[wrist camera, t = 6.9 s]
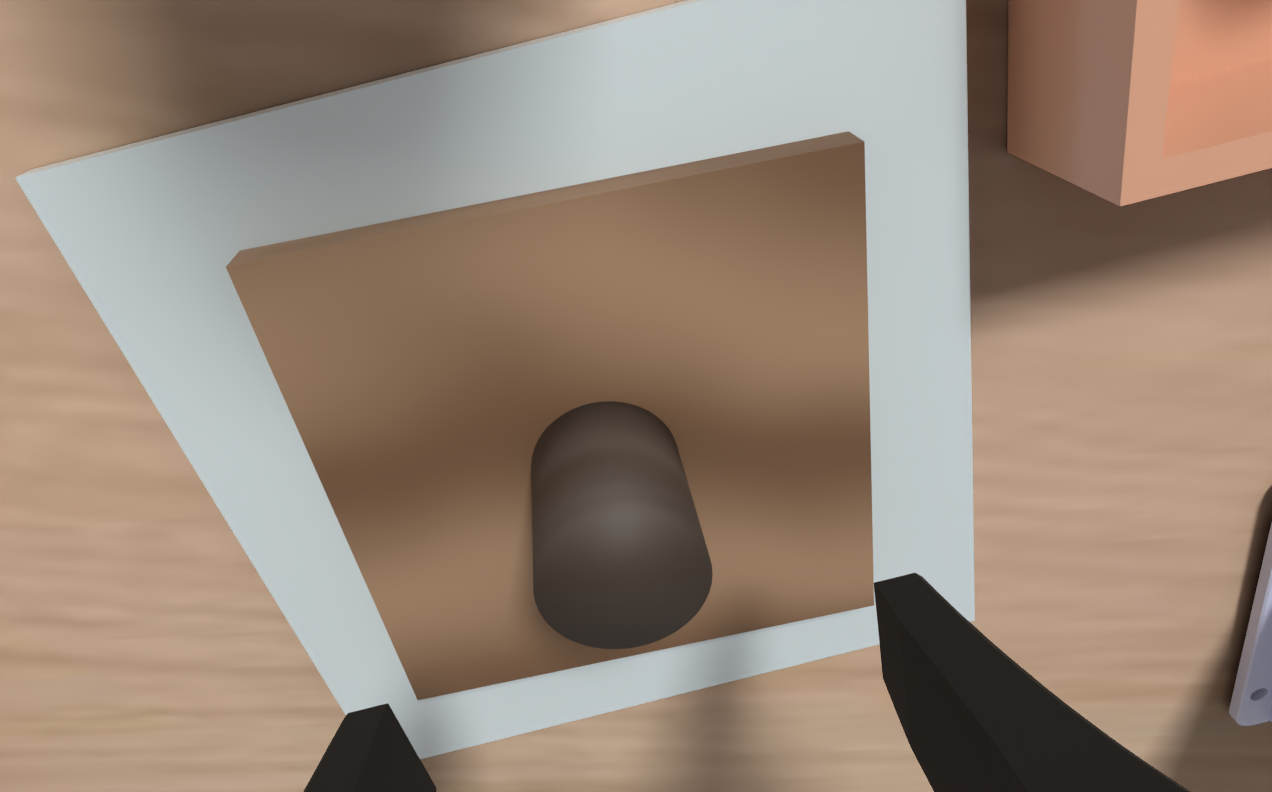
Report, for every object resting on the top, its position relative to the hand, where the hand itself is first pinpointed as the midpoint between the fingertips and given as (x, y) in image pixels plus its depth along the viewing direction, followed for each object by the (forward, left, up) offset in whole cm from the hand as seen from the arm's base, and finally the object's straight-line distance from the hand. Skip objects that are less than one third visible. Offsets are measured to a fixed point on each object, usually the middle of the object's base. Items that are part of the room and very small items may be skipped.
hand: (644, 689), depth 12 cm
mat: (0, 0, -7) cm, 7 cm away
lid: (0, 0, -6) cm, 6 cm away
